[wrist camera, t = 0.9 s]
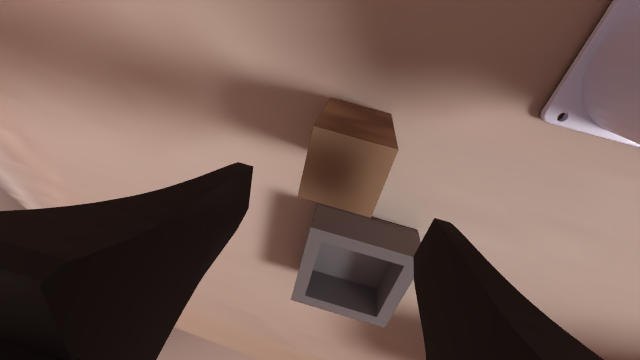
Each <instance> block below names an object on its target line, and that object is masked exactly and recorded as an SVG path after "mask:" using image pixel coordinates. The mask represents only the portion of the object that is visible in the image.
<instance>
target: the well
mask: <svg viewBox="0 0 640 360" xmlns="http://www.w3.org/2000/svg"><path fill="white" fill-rule="evenodd" d="M420 244H421V242H420V238H419V233H418V230H415V229H412V228H408V227H405V226H401V225H398V224H394V223H391V222H387V221H384V220H380V219H377V218H373V217H371V218H369V217H366V216H363V215H359V214H356V213H352V212H349V211H345V210H342V209H338V208H335V207H331V206H328V205H324V204H321V203H318V205H317V208H316V211H315V214H314V218H313V221H312V224H311V227H310V231H309V235H308V238H307V242H306V246H305V249H304V253H303V257H302V261H301V264H300V268H299V272H298V275H297V279H296V283H295V286H294V290H293V294H292V298H291V300H293V301H297V302H300V303H303V304H307V305H310V306H313V307H317V308H320V309H323V310H326V311H330V312H333V313H336V314H340V315H343V316H346V317H350V318H353V319H356V320H360V321H363V322H366V323H370V324H373V325H376V326H380V327H383V328H385V326H386V325H387V323H388V321H389V320H390V318H391V316H392V314H393V313H394V311H395V309H396V308H397V306H398V304H399V303H400V301H401V299H402V297H403V296H404V294H405V292H406V291H407V289H408V287H409V286H410V284H411V282H412V280H413V279H414V259H413V256H414V254H415V253H416V251H417V249H418V247H419V245H420Z"/></svg>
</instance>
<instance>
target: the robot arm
mask: <svg viewBox="0 0 640 360" xmlns="http://www.w3.org/2000/svg"><path fill="white" fill-rule="evenodd" d="M561 113H564V116H563V117H562V118H561V119H559V120H557V117H558V115H559V114H561ZM540 115H541V119H542V120H543V121H545V122H547V123H550V124H554V125H557V126H561V127H565V128H568V129H572V130H576V131H580V132H583V133H587V134H591V135H594V136H598V137H602V138H606V139H609V140H613V141H617V142H620V143H624V144H628V145H632V146H635V147H639V148H640V0H613V1H612V3H611V4H610V6H609V7H608V9H607V11H606V12H605V14H604V15H603V17H602V18H601V20H600V21H599V23H598V25H597V26H596V28H595V29H594V31H593V32H592V34H591V35H590V37H589V38H588V40H587V42H586V43H585V45H584V46H583V48H582V49H581V51H580V52H579V54H578V56H577V57H576V59H575V60H574V62H573V63H572V65H571V66H570V68H569V70H568V71H567V73H566V74H565V76H564V77H563V79H562V80H561V82H560V84H559V85H558V87H557V88H556V90H555V91H554V93H553V94H552V96H551V98H550V99H549V101H548V102H547V104H546V105H545V107H544V108H543V110H542V112H541V114H540ZM252 173H253V166H250V165H246V164H243V163H239V162H238V163H234V164H231V165H229V166H226V167H223V168H221V169H218V170H216V171H213V172H210V173H208V174H205V175H203V176H200V177H197V178H194V179H191V180H188V181H185V182H182V183H179V184H176V185H173V186H170V187H167V188H163V189H160V190H156V191H152V192H148V193H144V194H139V195H135V196H130V197H125V198H119V199H113V200H108V201H102V202H96V203H89V204H82V205H74V206H65V207H55V208H44V209H31V210H14V211H0V360H156V359H157V357H158V355H159V353H160V351H161V350H162V348H163V346H164V344H165V342H166V340H167V338H168V337H169V335H170V333H171V331H172V329H173V327H174V326H175V324H176V322H177V320H178V318H179V317H180V315H181V313H182V311H183V309H184V308H185V306H186V304H187V302H188V301H189V299H190V297H191V296H192V294H193V292H194V290H195V289H196V287H197V285H198V284H199V282H200V281H201V279H202V278H203V276H204V274H205V273H206V272H207V270H208V269H209V267H210V266H211V265H212V263H213V262H214V261H215V259H216V258H217V256H218V255H219V254H220V252H221V251H222V250H223V248H224V247H225V245H226V244H227V243H228V241H229V240H230V239H231V237H232V236H233V234H234V233H235V232H236V230H237V229H238V227H239V225H240V223H241V221H242V220H243V218H244V216H245V214H246V212H247V210H248V207H249V198H250V190H251V181H252ZM413 259H414V283H415V289H416V295H417V301H418V307H419V313H420V318H421V324H422V330H423V335H424V342H425V350H426V360H604V359H602V358H601V357H599V356H598V355H597V354H595V353H594V352H592V351H591V350H590V349H588V348H587V347H586V346H584V345H583V344H582V343H580V342H579V341H578V340H577V339H575V338H574V337H573V336H571V335H570V334H569V333H567V332H566V331H565V330H563V329H562V328H561V327H560V326H558V325H557V324H556V323H555V322H553V321H552V320H551V319H550V318H549V317H547V316H546V315H545V314H544V313H543V312H542V311H540V310H539V309H538V308H537V307H536V306H535V305H533V304H532V303H531V302H530V301H529V300H528V299H526V298H525V297H524V296H523V295H522V294H521V293H520V292H519V291H518V290H517V289H516V288H515V287H514V286H512V285H511V284H510V283H509V282H508V281H507V280H506V279H505V278H504V277H503V276H502V275H501V274H500V273H499V272H498V271H497V270H496V269H495V268H494V267H493V266H492V265H491V264H490V263H489V262H488V261H487V260H486V259H485V257H484V256H483V255H482V254H481V253H480V252H479V251H478V250H477V249H476V248H475V247H474V246H473V245H472V244H471V243H470V242H469V240H468V239H467V238H466V237H465V236H464V235H463V234H462V233H461V232H460V231H459V230H458V229H457V228H456V227H455V226H454V225H453V224H451V223H450V222H446V221H443V220H439V219H436V218H434V220H433V222H432V224H431V225H430V227H429V229H428V231H427V233H426V235H425V236H424V238H423V240H422V242H421V244H420V245H419V247H418V249H417V251H416V253H415V254H414V256H413Z"/></svg>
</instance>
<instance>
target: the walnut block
mask: <svg viewBox="0 0 640 360" xmlns="http://www.w3.org/2000/svg"><path fill="white" fill-rule="evenodd" d="M397 152H398V145H397V141H396V136H395V131H394V126H393V121H392V116H391V114H389V113H385V112H381V111H378V110H374V109H370V108H367V107H363V106H359V105H356V104H352V103H348V102H345V101H341V100H337V99H334V98H330V100H329V101H328V103H327V105H326V106H325V108H324V109H323V111H322V113H321V114H320V116H319V118H318V119H317V121H316V123H315V124H314V126H313V130H312V134H311V139H310V143H309V148H308V152H307V157H306V161H305V166H304V170H303V175H302V179H301V184H300V188H299V193H298V197H300V198H304V199H307V200H310V201H314V202H317V203H321V204H324V205H328V206H331V207H335V208H338V209H342V210H345V211H349V212H352V213H356V214H359V215H363V216H366V217H369V218H371V216H372V214H373V211H374V209H375V206H376V204H377V201H378V199H379V196H380V194H381V191H382V189H383V186H384V184H385V182H386V179H387V177H388V174H389V172H390V169H391V167H392V164H393V162H394V159H395V157H396V154H397Z"/></svg>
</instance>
